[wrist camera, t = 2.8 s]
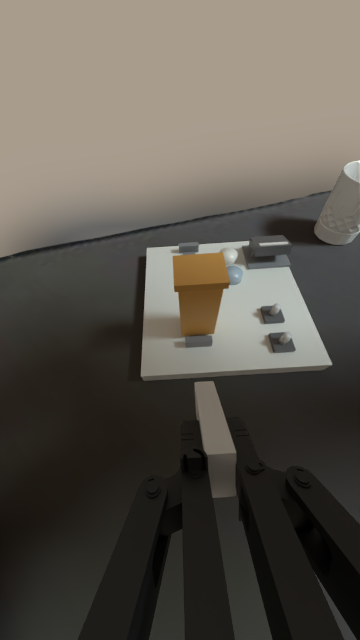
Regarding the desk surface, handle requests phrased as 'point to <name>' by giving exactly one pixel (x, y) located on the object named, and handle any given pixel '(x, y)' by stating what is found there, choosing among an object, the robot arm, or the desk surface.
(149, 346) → the console
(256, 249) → the rocker
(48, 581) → the desk surface
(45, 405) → the desk surface
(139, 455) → the desk surface
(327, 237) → the white cup
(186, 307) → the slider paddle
